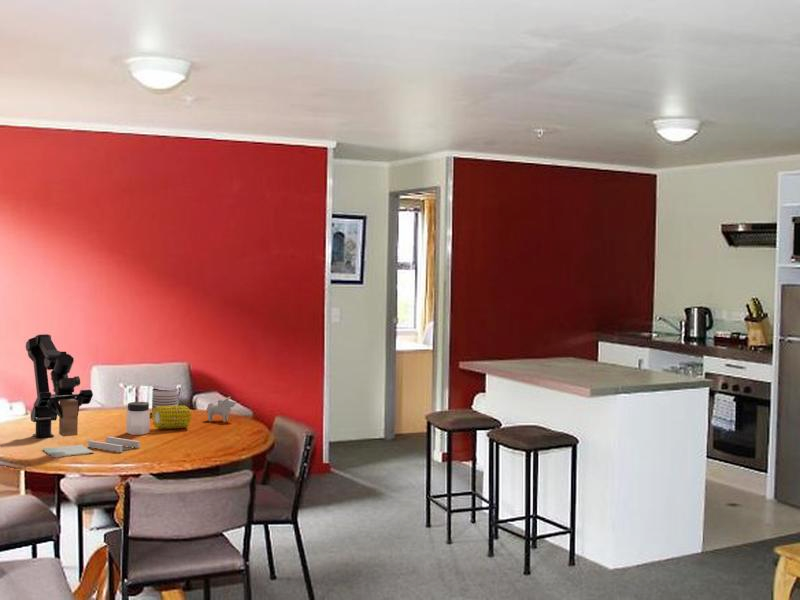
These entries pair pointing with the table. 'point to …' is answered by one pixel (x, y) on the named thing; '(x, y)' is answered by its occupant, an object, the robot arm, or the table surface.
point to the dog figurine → (220, 408)
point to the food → (171, 417)
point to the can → (164, 396)
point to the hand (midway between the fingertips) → (69, 417)
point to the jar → (138, 418)
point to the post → (68, 417)
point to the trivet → (67, 450)
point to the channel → (114, 444)
